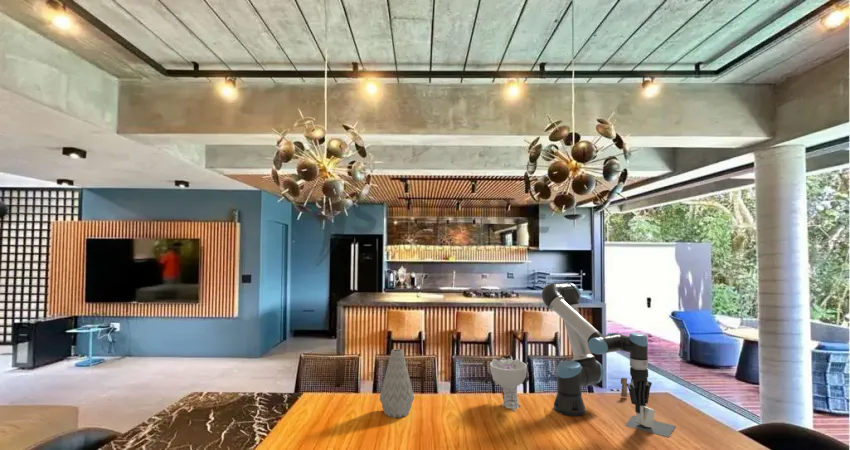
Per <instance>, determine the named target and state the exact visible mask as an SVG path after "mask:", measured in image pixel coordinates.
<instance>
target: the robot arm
mask: <svg viewBox="0 0 850 450" xmlns="http://www.w3.org/2000/svg"><path fill="white" fill-rule="evenodd" d="M581 295H582V294H581V291H580V289H579V288H578V286H577V285H576V284H574V283H572V282H565V281H564V282H556V283H553V282H552V283H549V284H547V285H545V286H544V287H543V289H542V292H541V299H542V301H543V304H544V305H545V306H546V307H547V308H548V309H549V310H550V311H551V312H555V313H556V314H557V315H558V316H559V317H560V318H561V319H563V323H564V326H565V329H566V333H567V337H568V340H569V345H570V347H571V351H572V354H573V357H572V359H571V360H563V361H561V362H559V363H558V364H557V365H556V366H557V367H556V390H557V391H556V397H555V399H554V401H553V410H554V411H555V412H556V413H558V414H560V415H564V416H569V417H580V416H584V415H585V414H586V405H585V403H584V400H583V399H584V398H583V397H582V388H585V387H589V386H595V385H596V384H599V383H600V382H602V380H603V378H604V376H605V375H604V373H605V372H604V368H603V365H602V364H601V363H600V362H599V361H598V360H596V357H595V355H605V354H608V353H614V352H618V351H620V352H624V353H629V366H630V367H629V375H630V377H631V379H630V382H629V383H627V390H628V392H629V398H630V402H631V404H633V405H634V407H635V408H634V409H635V414H636V415H635V416H636V419H638V420H640V421H644V406H646V407H647V404H648V403H649V398H650V390H651V387H652V384H653V382H651V381H648V378H649V355H648V354H649V353H648V352H649V351H648V347H649V344H648V343H649V341H648V337H647V335H646V334H645V333H641V332H640V333H639V332H631V333H629V335H626V334H625V335H624V334H620V333H617V332H608V333H607V334H606V335H603V334H602V333H601V332H600V331H599V330H597V329H596V328H595V327H594V326H593V325H592V324H591V323H590V322H589V321H588V320H587V319H585V318H584V317H583V316H582V315H581V314H580V313H579V309H578V307H579V306H580V303H579V302H580V298H581ZM593 354H594V355H593Z"/></svg>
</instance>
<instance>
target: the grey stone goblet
mask: <svg viewBox="0 0 850 450" xmlns="http://www.w3.org/2000/svg"><path fill="white" fill-rule="evenodd" d="M489 367H490V368H489V369H490V370H489V371H490V374H491V376H492V380H493V382H495V385H496V386H498V385H499V386H501V395H502V400H503V403H502V405H501V407H502V408H503V407H504V408H506V409H511V410H512V411H513V412H515V413H516V412H517V409H519V408H520V407H522V406H521V404H520V402H519V398H518V396H519V395H518V387H519V386H520V385H522V384H523V383H524V381H525V379H526V376H527V371H528V365H527V364H526V363H525V362H523V361H521V360H520V358H516V359H514V360H513V359H511V358H507V359H506V358H505V357H502V358H500V359H496V358H492V361H490V363H489Z"/></svg>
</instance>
